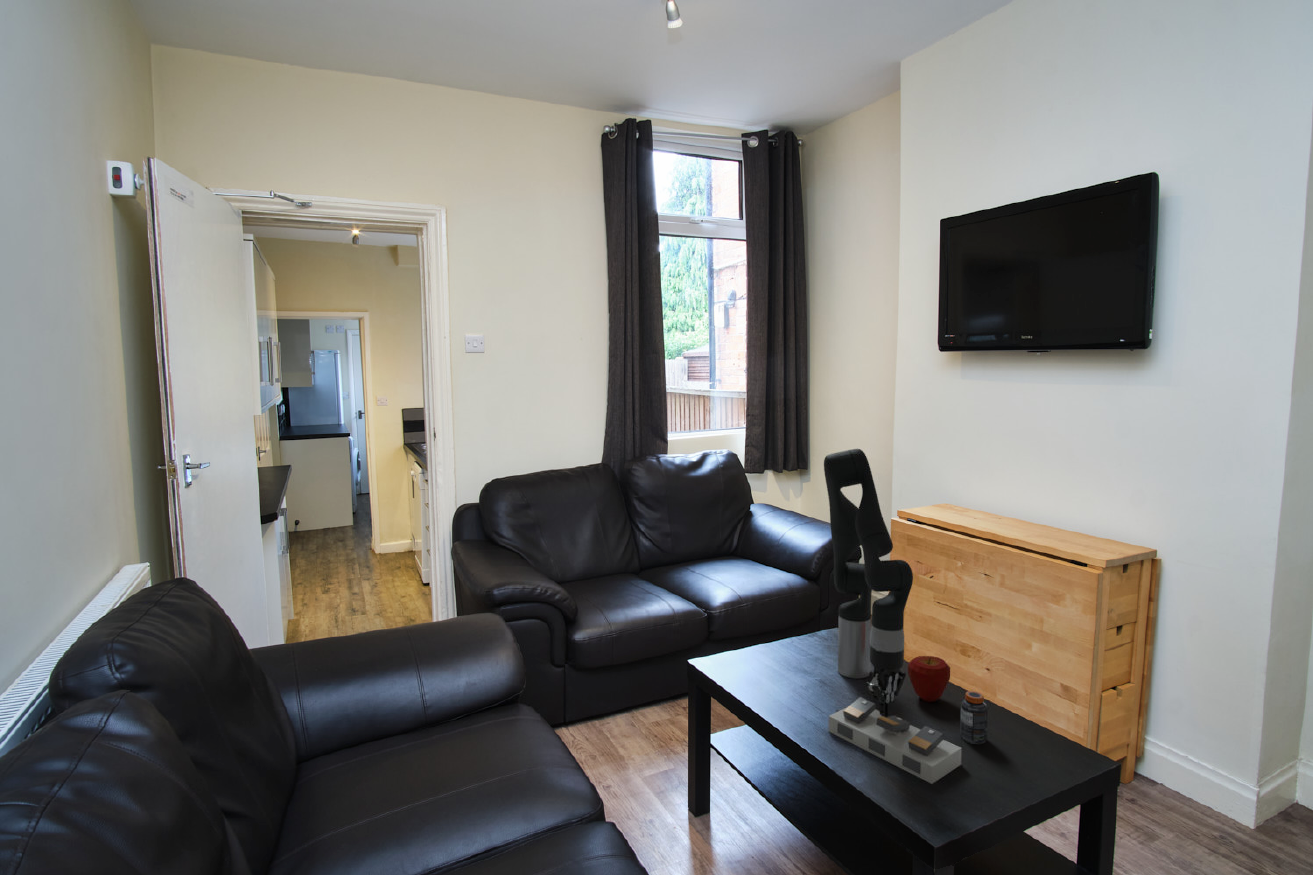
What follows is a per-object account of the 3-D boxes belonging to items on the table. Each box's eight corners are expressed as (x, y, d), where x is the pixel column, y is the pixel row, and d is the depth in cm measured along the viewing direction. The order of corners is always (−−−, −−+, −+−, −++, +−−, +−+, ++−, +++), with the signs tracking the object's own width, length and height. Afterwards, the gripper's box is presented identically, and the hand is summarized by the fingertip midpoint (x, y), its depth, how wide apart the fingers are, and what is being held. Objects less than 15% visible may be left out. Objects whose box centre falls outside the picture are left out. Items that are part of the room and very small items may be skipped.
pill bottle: (985, 734, 169) (986, 690, 168) (988, 746, 163) (990, 701, 162) (958, 730, 171) (960, 687, 170) (961, 742, 165) (962, 697, 164)
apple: (927, 686, 194) (928, 645, 193) (958, 703, 185) (960, 660, 184) (898, 694, 190) (899, 653, 189) (928, 712, 180) (930, 668, 179)
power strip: (851, 713, 180) (852, 696, 179) (961, 764, 156) (961, 745, 156) (821, 728, 172) (822, 711, 172) (931, 784, 149) (932, 764, 148)
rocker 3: (925, 731, 159) (925, 724, 159) (943, 739, 156) (942, 732, 156) (909, 747, 156) (908, 741, 155) (926, 756, 152) (925, 749, 152)
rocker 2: (892, 721, 167) (894, 714, 167) (909, 729, 164) (910, 721, 164) (876, 724, 163) (877, 717, 163) (892, 732, 159) (893, 724, 159)
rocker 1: (860, 702, 174) (860, 696, 173) (875, 709, 170) (874, 702, 170) (843, 716, 170) (843, 710, 169) (858, 723, 166) (857, 717, 166)
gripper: (889, 633, 166) (888, 701, 168) (856, 646, 159) (854, 717, 160) (917, 642, 161) (915, 713, 162) (884, 656, 153) (882, 730, 154)
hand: (885, 715), depth 161 cm, fingers closed
